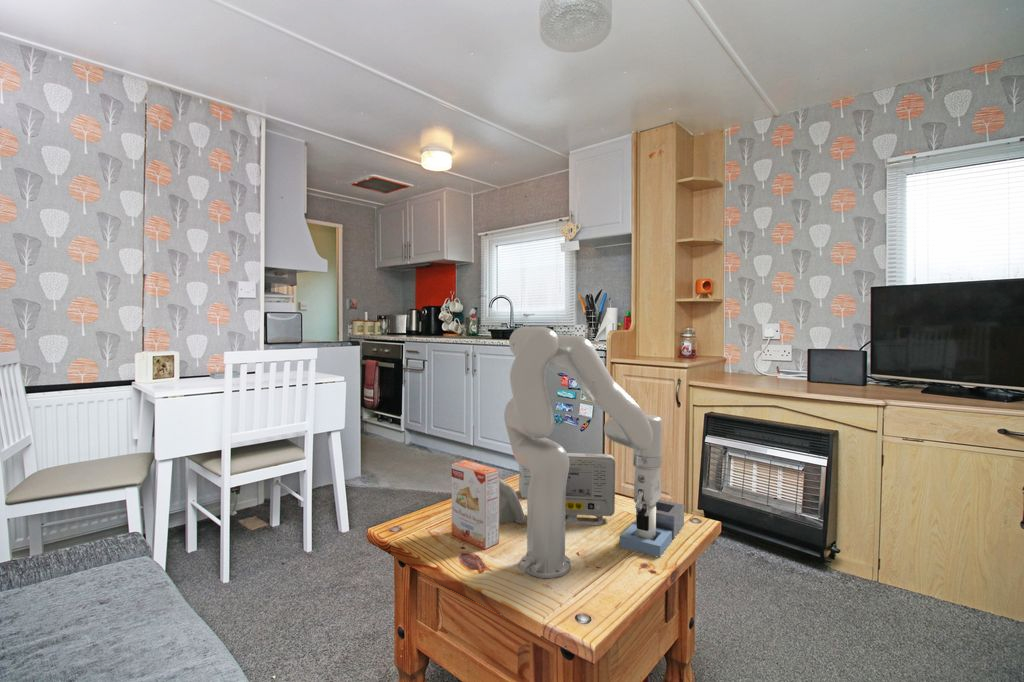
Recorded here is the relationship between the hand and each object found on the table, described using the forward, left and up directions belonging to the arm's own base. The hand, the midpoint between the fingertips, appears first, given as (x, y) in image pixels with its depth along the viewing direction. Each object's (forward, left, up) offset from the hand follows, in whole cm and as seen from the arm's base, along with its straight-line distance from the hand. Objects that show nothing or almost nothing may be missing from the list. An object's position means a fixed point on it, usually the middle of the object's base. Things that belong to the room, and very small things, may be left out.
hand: (646, 525), depth 136 cm
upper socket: (+13, 0, -5) cm, 14 cm away
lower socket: (0, 0, -5) cm, 5 cm away
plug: (0, 0, -5) cm, 5 cm away
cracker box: (-24, +41, -6) cm, 48 cm away
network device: (+5, +25, -6) cm, 26 cm away
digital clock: (-5, +42, -6) cm, 43 cm away
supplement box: (+16, +47, -6) cm, 50 cm away
